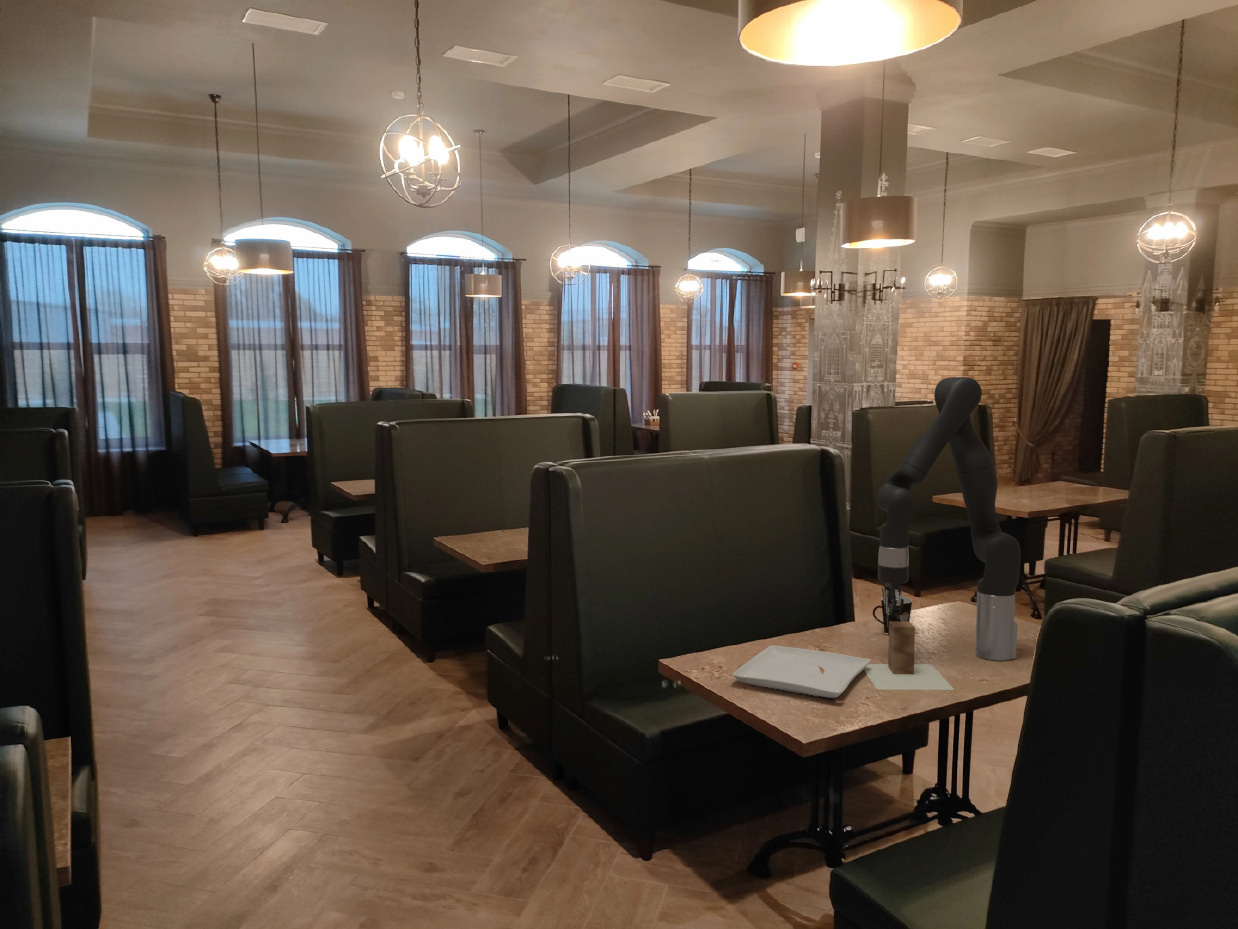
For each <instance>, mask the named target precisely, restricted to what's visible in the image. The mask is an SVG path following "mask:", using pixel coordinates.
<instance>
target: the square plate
mask: <svg viewBox="0 0 1238 929" xmlns="http://www.w3.org/2000/svg"><path fill="white" fill-rule="evenodd" d="M871 661H872V659H871V658H865V657H858V656H855V655H854V656H852V655H849V654H848V655H847V654H841V653H837V652H830V651H829V652H828V651H823V650H816V649H807V648H799V647H792V646H791V647H790V646H783V645H781V646H780V645H773V644H772V645H769V646H767V647H766V648H764V649H763V650H762V651H760V652H759V653H757V654H756V655H754V656H753V657H752V658H751V659H750V660H748V661H747V662H745V663H744V664H743V665H742V666H740V667H739V668H737V669H736V670H735V671H734V672H733V673H732V674H731V675H732V677H733V678H735V680H737V681H739V682H740V683H743V684H747V685H752V686H758V687H762V688H766V687H768V688H767V689H772V688H774V689H773V690H777V689H779V691H783V690H784V692H789V693H795V694H800V693H802V695H807V694H808V695H807V696H811V695H813V696H814V697H819V696H821V697H823V698H829V699H830V698H831V699H835V698H838V697H839V696H841V694H842V693H844V692H845V690H846V689H847V687H848V686H849V685H850V684H851V682H852V681H853V680H854V679H855V678H856V677H857V676H858V675H860V674H861V673H862V671H864V668H865V667H866V666H867V665H868V664H871ZM820 668H821V669H823V670H824V671H823V673H822V671H821V669H820ZM813 696H812V697H813ZM821 697H819V698H821Z"/></svg>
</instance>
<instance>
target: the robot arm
mask: <svg viewBox="0 0 1238 929" xmlns="http://www.w3.org/2000/svg"><path fill="white" fill-rule="evenodd" d="M982 395H983V390H982V387H981V385H980V384H979V382H978V381H977V380H976V379H974V378H971V377H966V376H956V377H955V376H954V377H945V378H943V379H941V380H939V382H938V383H937V384H936V386H935V388H934V394H933V396H934V403H935V406H936V409H937V411H938V415H937V417H936V418H935V420H934V421H933V422H932V424H931V425H930V426H928V428H927V429H926V430H925V431H924V432H922V434H921V435H920V436H919V437H918V438H917V439H916V440H915V441H914V442H913V443H912V445H911V446H910V447H909V449H908V451H907V452H906V453H905V456H904V457H903V459H902V460H901V462H900V464H899V466H898V467H897V468H896V470H895V471H893V473H891V475H890V476H889V477H888V478H887V479H886V480H885V481H884V482H883V484H882V485H881V486H880V488H879V489H878V492H877V495H876V504H877V506H878V508H880V509H881V511H884V512H886V513H887V516H886V522H885V523H882V524H881V526H880V531H879V548H878V556H877V557H878V561H877V580H878V581H879V582H881V583H884V586H883V587H882V589H881V594H882V597H883V601H884V608H885V609H886V613H888V614H887V627H888V629H889V621H897V615H900V613H901V610H902V606H903V603H904V600H903V599H901V597H903V589H902V588H901V585H902V584H906V583H908V582H909V567H910V566H909V563H910V561H909V560H910V555H909V554H910V552H909V529H910V527H911V523H912V520H913V516H914V511H915V499H914V497H913V496H914V495H913V494H912V492H911V489H912V488H913V487H914V486H917V485H920V484H922V483H923V482H924V480H925V479H926V477H927V475H928V474H929V472H930V471H931V469H932V467H933V466H934V465H935V462H936V461H937V459H938V457H939V456H940V454H941V452H942V451H943V450H944V448H945V447H946V445H947V444H949V449H950V453H951V456H952V460H953V464H954V468H955V473H956V475H957V476H956V477H957V480H958V484H959V487H960V491H961V494H962V498H963V503H964V506H965V509H966V512H967V517H968V521H969V527H970V535H971V543H972V549H973V551H974V552H973V553H974V554H975V556H976V558H977V559H979V560H980V561H981V562H982V563H984V574H983V577H981V578H980V579H978V581H977V583H976V584H977V588H976V617H975V618H976V619H975V621H976V622H975V623H976V624H975V648H974V649H975V651H974V652H975V655H976V656H977V657H979V658H981V659H984V660H990V661H999V662H1001V661H1009V660H1016V659H1017V648H1018V646H1017V643H1018V623H1017V622H1016V621H1015V613H1016V608H1015V606H1016V588H1017V586H1018V584H1019V581H1020V572H1021V561H1022V560H1021V558H1022V552H1021V545H1020V543H1019V542H1018V540H1017V538H1015V537H1014V536H1012V535H1010V534H1008V533H1005V532H1003V530H1002V529H1001V526H1000V523H999V519H998V516H997V511H996V498H997V493H998V478H997V474H996V469H995V465H994V462H993V459H992V456H991V453H990V452H989V449H988V448H987V446H986V445H985V444H984V442H983V439H981V438H980V435H979V434H978V433H977V431H976V429H975V427H974V425H973V421H972V418H971V414H972V413H974V411H975V409H976V408H978V405H979V404H980V402H981V400H982V397H983V396H982Z"/></svg>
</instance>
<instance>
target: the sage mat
mask: <svg viewBox="0 0 1238 929" xmlns="http://www.w3.org/2000/svg"><path fill="white" fill-rule="evenodd" d="M863 671H864V672H865V673H866V675H867V677H868V678H869V680H870V681H871V683H872V684H873V686H874V687H875V689H876V690H878V691H879V690H881V691H882V690H885V691H886V690H889V691H891V690H894V691H895V690H896V691H900V690H902V691H903V690H906V691H908V690H909V691H910V690H912V691H914V690H916V691H921V690H922V691H955V688H954V687H953V686H952V685H951V684H950V682H948V681H947V679H946V678H944V677H943V675H942V674H941V673H940V672H939V671H938V669H936V668H935V666H934V665H933V664H932V663H931V664H926V663H925V664H919V663H918V664H917V663H916V664H915V663H914V674H893V673H892V672H891V670H890V669H889V668H888V663H883V664H881V663H869V664H868V665H867V666H866V667H865V668H864V670H863Z"/></svg>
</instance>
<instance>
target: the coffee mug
mask: <svg viewBox="0 0 1238 929" xmlns="http://www.w3.org/2000/svg"><path fill="white" fill-rule="evenodd" d="M901 599H903V600H904V603H903V606H902V610H901V613H900V615H897V621H909V622H910V620H911V613H912V604H913V599H912V598H910V597H906V596H902V597H901ZM880 601H881V605H876V606H875V607H874V608H873V609H872V616H873V618H874V619H875V621H877V622H879V623H881V625H883V631H884V632H886V633H888V634H889V629H888V627H887V614H888V613H886V609H885V608H884V601H883V596H882V597H880ZM879 608H880V609H881V611H882V620H881V619H879V618H878V616H876V611H877V610H878V609H879Z"/></svg>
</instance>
